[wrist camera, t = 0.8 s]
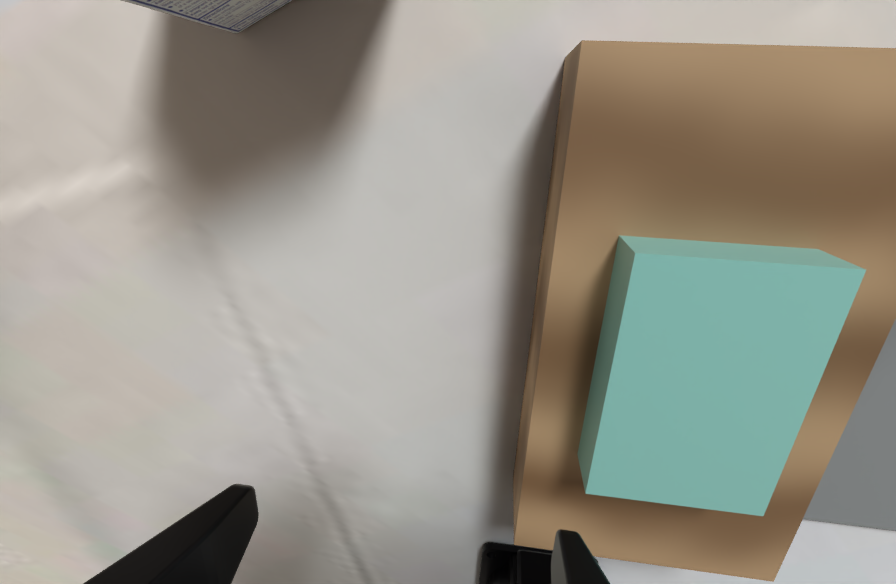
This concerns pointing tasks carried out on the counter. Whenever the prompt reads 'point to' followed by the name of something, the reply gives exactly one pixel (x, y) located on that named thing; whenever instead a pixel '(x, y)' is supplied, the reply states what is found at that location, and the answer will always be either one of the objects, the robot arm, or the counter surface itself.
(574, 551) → the robot arm
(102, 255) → the counter surface
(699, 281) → the teal rectangular block
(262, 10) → the medicine box
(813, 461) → the deck
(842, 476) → the mat
